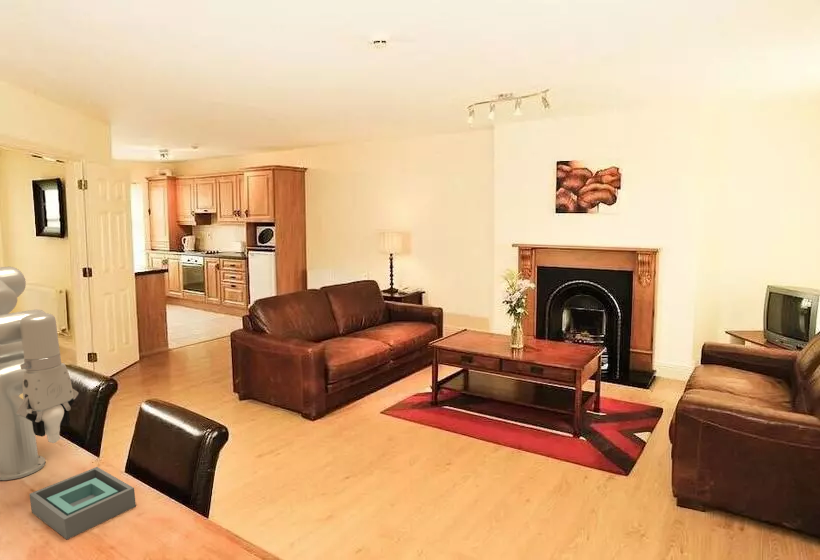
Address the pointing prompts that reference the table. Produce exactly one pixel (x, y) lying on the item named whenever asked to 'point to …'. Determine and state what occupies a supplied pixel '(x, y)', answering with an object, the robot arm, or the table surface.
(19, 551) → the table surface
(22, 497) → the table surface
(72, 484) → the open box
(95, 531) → the table surface
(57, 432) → the lightbulb
